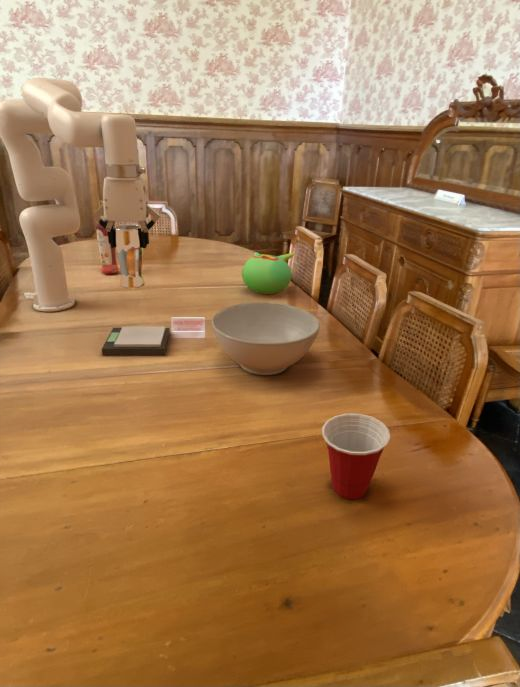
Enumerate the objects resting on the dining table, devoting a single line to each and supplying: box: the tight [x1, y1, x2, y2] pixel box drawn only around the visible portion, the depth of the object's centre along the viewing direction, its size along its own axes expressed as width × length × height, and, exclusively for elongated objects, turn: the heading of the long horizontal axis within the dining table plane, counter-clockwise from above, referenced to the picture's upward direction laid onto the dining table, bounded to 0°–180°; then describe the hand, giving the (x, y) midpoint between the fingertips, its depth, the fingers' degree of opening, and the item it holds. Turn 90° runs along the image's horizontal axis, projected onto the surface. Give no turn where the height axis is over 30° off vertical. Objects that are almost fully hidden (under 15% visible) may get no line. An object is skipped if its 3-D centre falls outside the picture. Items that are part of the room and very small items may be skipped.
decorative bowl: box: [210, 301, 321, 376], centre depth 119 cm, size 27×27×12 cm
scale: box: [101, 325, 171, 356], centre depth 129 cm, size 16×14×3 cm
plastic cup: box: [321, 412, 391, 500], centre depth 78 cm, size 11×11×12 cm
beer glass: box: [114, 224, 146, 290], centre depth 120 cm, size 7×7×15 cm
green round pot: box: [241, 252, 295, 295], centre depth 170 cm, size 18×17×15 cm
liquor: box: [95, 200, 120, 276], centre depth 183 cm, size 7×7×28 cm
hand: (129, 246), depth 118 cm, fingers closed on beer glass, 7 cm apart
